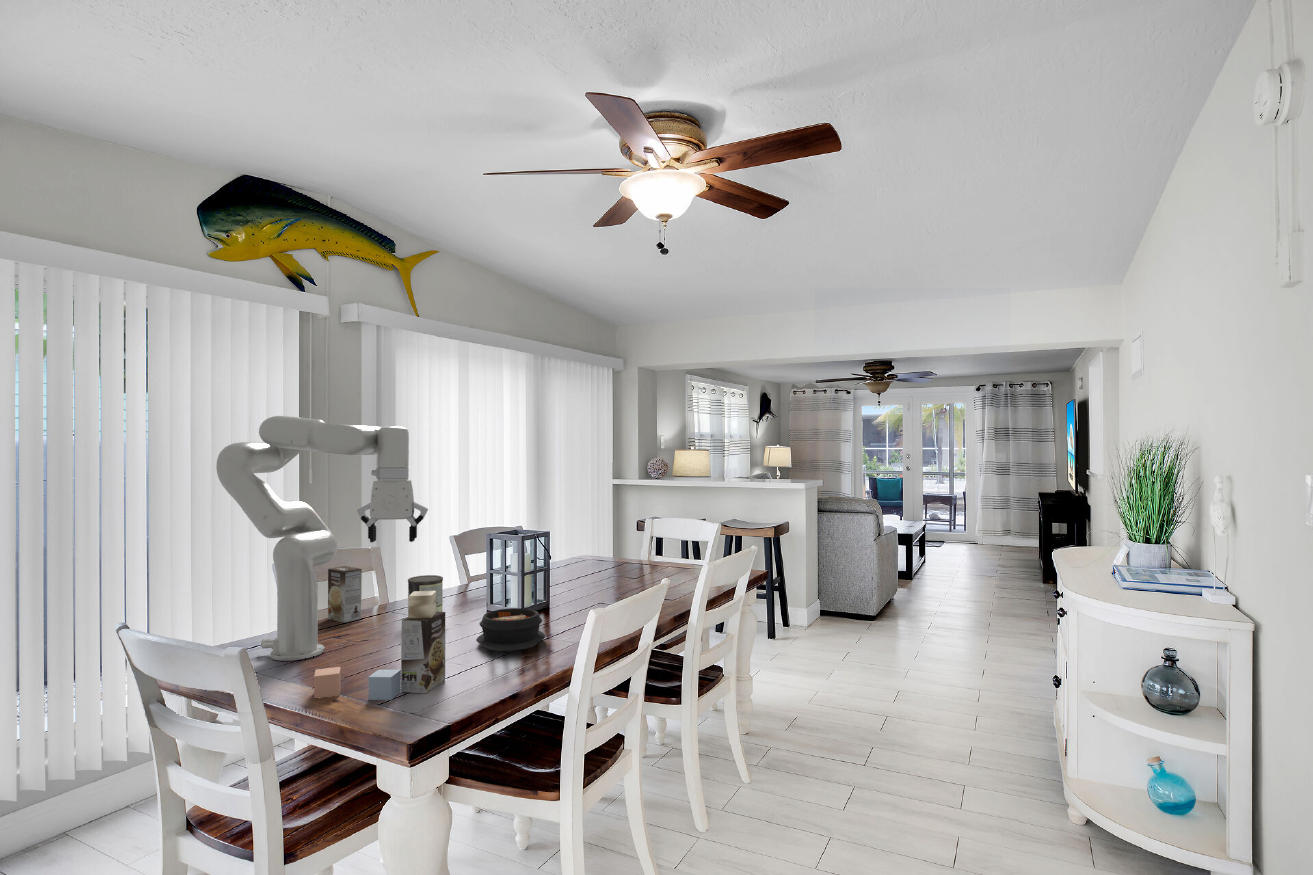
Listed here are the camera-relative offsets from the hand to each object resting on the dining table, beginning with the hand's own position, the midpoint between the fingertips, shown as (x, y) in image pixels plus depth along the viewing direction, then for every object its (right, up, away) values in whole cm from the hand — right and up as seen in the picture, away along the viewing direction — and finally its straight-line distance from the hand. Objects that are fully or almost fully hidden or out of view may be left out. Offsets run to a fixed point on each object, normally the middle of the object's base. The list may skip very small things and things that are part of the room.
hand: (392, 541), depth 180 cm
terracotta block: (-5, -30, -25) cm, 39 cm away
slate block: (+8, -30, -26) cm, 41 cm away
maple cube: (+15, -14, -20) cm, 29 cm away
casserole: (+28, -31, +13) cm, 43 cm away
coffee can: (-3, -31, +36) cm, 47 cm away
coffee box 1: (-31, -31, +43) cm, 61 cm away
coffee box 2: (+15, -30, -21) cm, 39 cm away
